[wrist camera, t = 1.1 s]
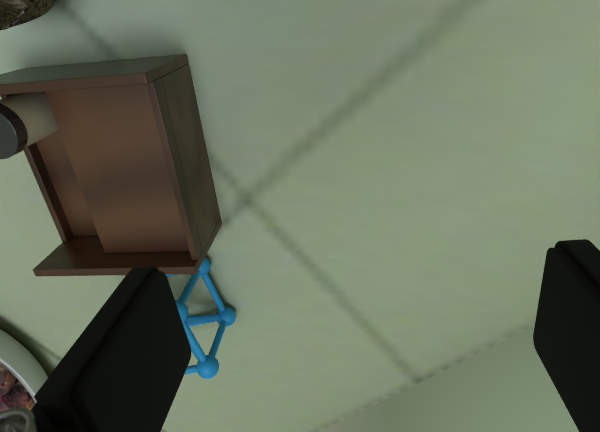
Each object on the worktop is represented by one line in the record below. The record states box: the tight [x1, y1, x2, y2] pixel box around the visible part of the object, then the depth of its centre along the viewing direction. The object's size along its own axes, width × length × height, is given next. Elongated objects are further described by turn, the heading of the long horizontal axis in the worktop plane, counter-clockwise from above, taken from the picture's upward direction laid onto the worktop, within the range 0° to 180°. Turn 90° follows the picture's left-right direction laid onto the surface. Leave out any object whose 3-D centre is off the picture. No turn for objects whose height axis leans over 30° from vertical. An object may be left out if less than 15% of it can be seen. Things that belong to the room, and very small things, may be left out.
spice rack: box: [0, 54, 222, 276], centre depth 39 cm, size 18×16×9 cm
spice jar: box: [0, 92, 59, 159], centre depth 35 cm, size 4×4×7 cm
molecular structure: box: [166, 257, 236, 378], centre depth 46 cm, size 10×10×10 cm
